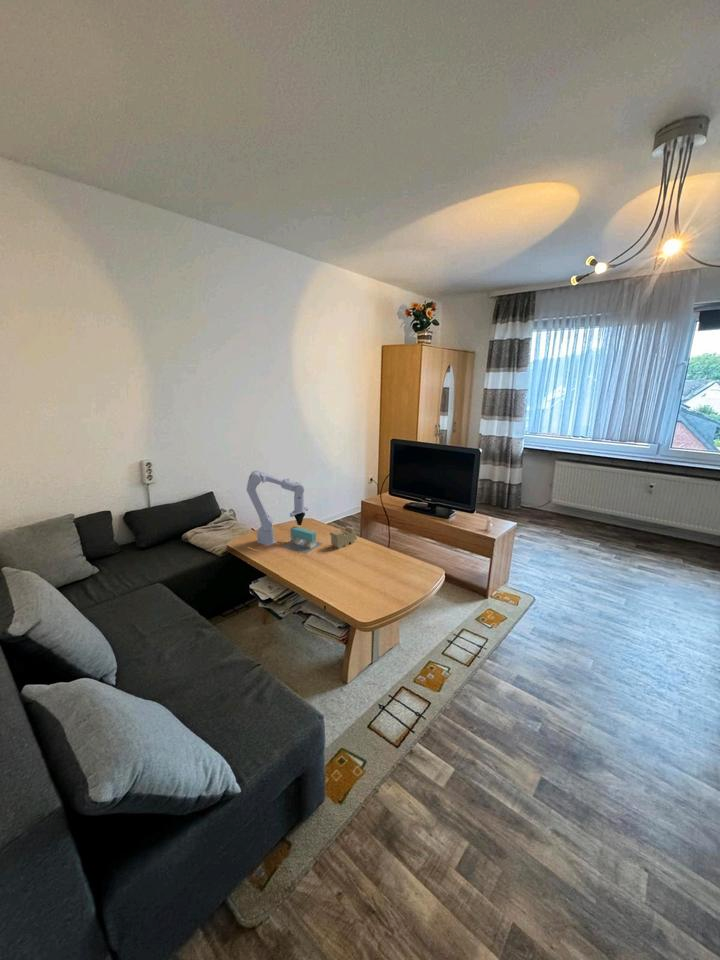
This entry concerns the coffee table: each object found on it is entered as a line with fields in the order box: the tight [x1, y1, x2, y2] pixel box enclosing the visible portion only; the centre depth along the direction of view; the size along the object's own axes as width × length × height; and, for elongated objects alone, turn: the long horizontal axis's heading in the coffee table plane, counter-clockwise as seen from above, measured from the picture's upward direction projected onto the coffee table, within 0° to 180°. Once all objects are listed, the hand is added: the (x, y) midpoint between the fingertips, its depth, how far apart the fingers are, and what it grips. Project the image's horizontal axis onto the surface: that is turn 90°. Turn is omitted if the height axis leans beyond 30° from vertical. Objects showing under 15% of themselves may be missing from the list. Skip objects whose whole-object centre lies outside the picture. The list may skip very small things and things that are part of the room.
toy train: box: [329, 525, 358, 549], centre depth 226 cm, size 6×17×10 cm, turn 136°
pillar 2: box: [304, 539, 317, 549], centre depth 223 cm, size 5×5×4 cm
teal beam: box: [290, 526, 317, 542], centre depth 225 cm, size 16×4×5 cm, turn 59°
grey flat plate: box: [282, 540, 323, 554], centre depth 226 cm, size 18×16×1 cm
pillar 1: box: [290, 535, 303, 545], centre depth 228 cm, size 5×5×4 cm
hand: (299, 524), depth 230 cm, fingers closed
